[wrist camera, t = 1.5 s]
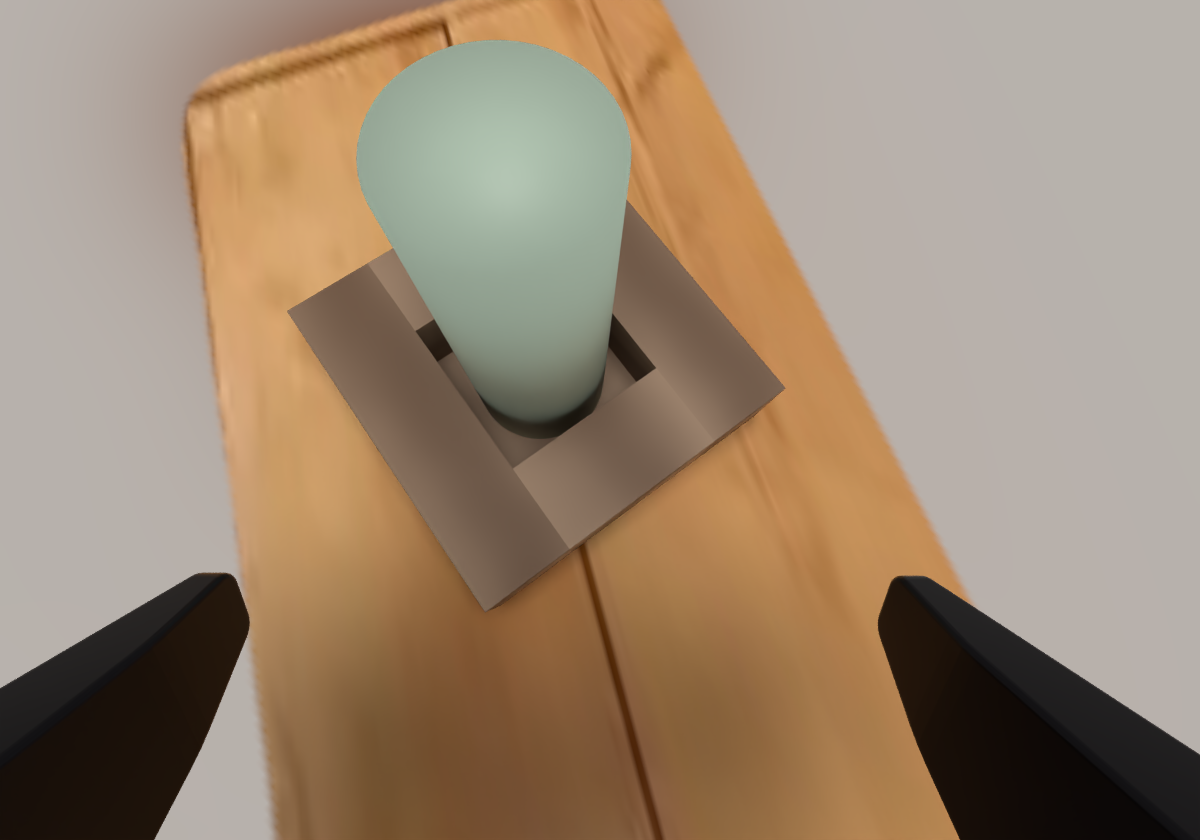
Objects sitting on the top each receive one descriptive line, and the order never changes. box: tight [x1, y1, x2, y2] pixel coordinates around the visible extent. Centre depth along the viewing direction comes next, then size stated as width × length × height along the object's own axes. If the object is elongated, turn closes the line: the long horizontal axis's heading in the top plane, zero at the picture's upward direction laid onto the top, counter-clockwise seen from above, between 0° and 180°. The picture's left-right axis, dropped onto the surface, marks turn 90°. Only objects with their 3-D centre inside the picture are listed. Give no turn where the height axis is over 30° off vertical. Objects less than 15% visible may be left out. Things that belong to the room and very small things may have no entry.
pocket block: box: [287, 200, 785, 612], centre depth 21 cm, size 12×12×4 cm
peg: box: [356, 40, 631, 439], centre depth 16 cm, size 5×5×12 cm
